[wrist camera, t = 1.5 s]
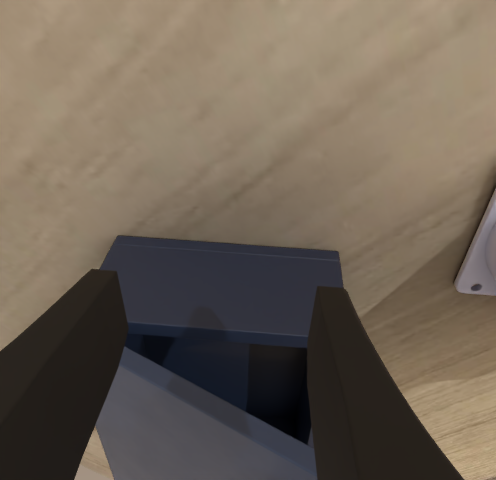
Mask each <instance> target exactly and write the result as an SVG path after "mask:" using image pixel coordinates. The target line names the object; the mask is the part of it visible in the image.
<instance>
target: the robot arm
mask: <svg viewBox="0 0 496 480" xmlns="http://www.w3.org/2000/svg"><path fill="white" fill-rule="evenodd" d="M475 284H478V285H476V286H473V285H475ZM454 285H455V287H456V289H457V291H458V292H460V293H467V294H480V295H494V296H496V189H495V191H494V193H493V196H492V198H491V200H490V203H489V205H488V207H487V209H486V212H485V214H484V216H483V218H482V221H481V223H480V225H479V228H478V230H477V232H476V234H475V237H474V239H473V241H472V243H471V246H470V248H469V250H468V252H467V255H466V257H465V259H464V262H463V264H462V266H461V268H460V271H459V273H458V275H457V277H456V280H455V283H454ZM128 330H129V327H128V322H127V317H126V312H125V308H124V303H123V298H122V293H121V288H120V284H119V279H118V274H117V271H111V270H98V269H91V270H90V271H89V272H88V273H87V274H86V275H85V276H83V277H82V278H81V279H80V280H79V281H78V282H77V283H76V284H75V285H74V286H73V287H72V288H71V289H69V290H68V291H67V292H66V293H65V294H64V295H63V296H62V297H61V298H60V299H59V300H58V301H57V302H56V303H55V304H53V305H52V306H51V307H50V308H49V309H48V310H47V311H46V312H45V313H44V314H43V315H41V316H40V317H39V318H38V319H37V320H36V321H35V322H34V323H33V324H31V325H30V326H29V327H28V328H27V329H26V330H25V331H24V332H22V333H21V334H20V335H19V336H18V337H17V338H16V339H14V340H13V341H12V342H11V343H10V344H9V345H7V346H6V347H5V348H4V349H2V350H1V351H0V480H74V478H75V476H76V473H77V470H78V467H79V464H80V462H81V459H82V456H83V454H84V451H85V449H86V446H87V444H88V442H89V439H90V437H91V434H92V432H93V429H94V427H95V424H96V422H97V419H98V417H99V415H100V412H101V410H102V407H103V405H104V402H105V400H106V397H107V395H108V392H109V390H110V387H111V385H112V382H113V380H114V377H115V375H116V372H117V370H118V367H119V364H120V360H121V356H122V353H123V349H124V345H125V341H126V338H127V334H128ZM307 386H308V396H309V406H310V415H311V425H312V434H313V443H314V453H315V462H316V471H317V480H464V479H463V478H462V476H461V475H460V474H459V472H458V471H457V470H456V469H455V467H454V466H453V465H452V464H451V462H450V461H449V460H448V458H447V457H446V456H445V455H444V453H443V452H442V451H441V449H440V448H439V447H438V445H437V444H436V443H435V441H434V440H433V439H432V437H431V436H430V434H429V433H428V432H427V430H426V429H425V427H424V426H423V425H422V423H421V422H420V420H419V419H418V417H417V416H416V415H415V413H414V412H413V410H412V409H411V407H410V406H409V404H408V403H407V401H406V399H405V398H404V396H403V395H402V393H401V392H400V390H399V389H398V387H397V385H396V384H395V382H394V381H393V379H392V377H391V376H390V374H389V372H388V371H387V369H386V367H385V365H384V364H383V362H382V360H381V358H380V357H379V355H378V353H377V351H376V350H375V348H374V346H373V344H372V342H371V341H370V339H369V337H368V335H367V333H366V331H365V329H364V327H363V325H362V323H361V321H360V319H359V317H358V315H357V313H356V311H355V309H354V306H353V304H352V302H351V299H350V297H349V295H348V292H347V291H346V290H345V289H344V288H339V287H326V286H317V290H316V296H315V301H314V307H313V313H312V318H311V324H310V330H309V335H308V341H307Z"/></svg>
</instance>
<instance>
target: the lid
mask: <svg viewBox="0 0 496 480" xmlns="http://www.w3.org/2000/svg"><path fill="white" fill-rule="evenodd" d="M95 426H96V429H97V432H98V434H99V437H100V440H101V443H102V446H103V449H104V452H105V454H106V457H107V460H108V463H109V466H110V469H111V471H112V474H113V477H114V480H317V471H316V462H315V453H314V448H312V447H310V446H308V445H306V444H304V443H303V442H301V441H299V440H297V439H295V438H293V437H291V436H290V435H288V434H286V433H284V432H282V431H280V430H279V429H277V428H275V427H273V426H271V425H269V424H267V423H266V422H264V421H262V420H260V419H258V418H256V417H254V416H253V415H251V414H249V413H247V412H245V411H243V410H241V409H240V408H238V407H236V406H234V405H232V404H230V403H229V402H227V401H225V400H223V399H221V398H219V397H217V396H216V395H214V394H212V393H210V392H208V391H206V390H204V389H203V388H201V387H199V386H197V385H195V384H193V383H192V382H190V381H188V380H186V379H184V378H182V377H180V376H179V375H177V374H175V373H173V372H171V371H169V370H167V369H166V368H164V367H162V366H160V365H158V364H156V363H155V362H153V361H151V360H149V359H147V358H145V357H143V356H142V355H140V354H138V353H136V352H134V351H132V350H130V349H129V348H127V347H125V346H124V349H123V353H122V356H121V360H120V364H119V367H118V370H117V372H116V375H115V377H114V380H113V382H112V385H111V387H110V390H109V392H108V395H107V397H106V400H105V402H104V405H103V407H102V410H101V412H100V415H99V417H98V419H97V422H96V424H95Z"/></svg>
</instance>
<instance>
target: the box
mask: <svg viewBox="0 0 496 480" xmlns="http://www.w3.org/2000/svg"><path fill="white" fill-rule="evenodd" d="M99 270H111V271H117V274H118V279H119V284H120V288H121V293H122V298H123V303H124V308H125V312H126V317H127V322H128V327H129V330H128V334H127V338H126V341H125V345H124V346H125V347H127V348H129V349H130V350H132V351H134V352H136V353H138V354H140V355H142V356H143V357H145V358H147V359H149V360H151V361H153V362H155V363H156V364H158V365H160V366H162V367H164V368H166V369H167V370H169V371H171V372H173V373H175V374H177V375H179V376H180V377H182V378H184V379H186V380H188V381H190V382H192V383H193V384H195V385H197V386H199V387H201V388H203V389H204V390H206V391H208V392H210V393H212V394H214V395H216V396H217V397H219V398H221V399H223V400H225V401H227V402H229V403H230V404H232V405H234V406H236V407H238V408H240V409H241V410H243V411H245V412H247V413H249V414H251V415H253V416H254V417H256V418H258V419H260V420H262V421H264V422H266V423H267V424H269V425H271V426H273V427H275V428H277V429H279V430H280V431H282V432H284V433H286V434H288V435H290V436H291V437H293V438H295V439H297V440H299V441H301V442H303V443H304V444H306V445H308V446H310V447H312V448H314V443H313V434H312V425H311V415H310V406H309V396H308V386H307V341H308V335H309V330H310V324H311V318H312V313H313V307H314V301H315V296H316V290H317V286H326V287H339V288H344V287H343V280H342V273H341V265H340V259H339V253H338V252H337V251H326V250H312V249H298V248H284V247H270V246H256V245H243V244H229V243H215V242H201V241H187V240H173V239H159V238H145V237H132V236H117V237H116V239H115V241H114V243H113V245H112V246H111V248H110V250H109V252H108V254H107V256H106V258H105V260H104V262H103V263H102V265H101V267H100V269H99Z"/></svg>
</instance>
